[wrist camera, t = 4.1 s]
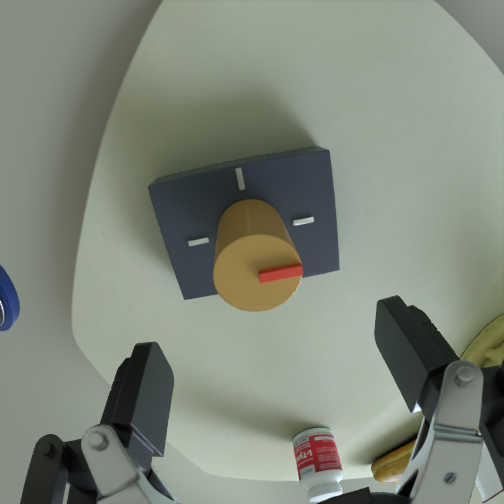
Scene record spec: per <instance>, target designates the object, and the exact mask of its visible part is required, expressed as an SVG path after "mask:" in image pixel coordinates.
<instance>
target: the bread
mask: <svg viewBox="0 0 504 504" xmlns="http://www.w3.org/2000/svg"><path fill="white" fill-rule="evenodd" d="M478 432H479V429H478ZM416 440H417V439H416ZM416 440H414V441H412V442H410V443H408V444H406V445H404V446H402V447H401V448H399V449H397V450H395V451H392V452H390V453H388V454H386V455H384V456H382V457H381V458H379V459H378V460H376V461H375V462H374V463H373V464H372V466H371V471H372V473H373V477H374V478H375V480H377V481H379V482H382V483H395V482H399V481H400V479H401V477H402V475H403V473H404V471H405V469H406V467H407V465H408V463H409V460H410V457H411V455H412V452H413V449H414V446H415V443H416Z"/></svg>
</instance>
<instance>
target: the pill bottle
mask: <svg viewBox="0 0 504 504" xmlns="http://www.w3.org/2000/svg"><path fill="white" fill-rule="evenodd" d="M293 446H294V452H295V458H296V463H297V469H298V475H299V481H300V485H301V486H302V487H303V488H304V489H308V492H307V495H308V500H309V501H311V502H315V501H316V502H317V501H324V500H326V499H329V498H331V497H334V496H338V495H341V494H342V488H341V486H340V484H338V482H339V481H340V480H341V479H342V477H343V470H342V466H341V463H340V459H339V455H338V451H337V448H336V444H335V440H334V436H333V433H332V431H331V430H329V429H327V428H312V429H308V430H305V431H303V432H301V433H299V434H298V435H297V436H296V437H295V438H294V439H293Z"/></svg>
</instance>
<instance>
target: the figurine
mask: <svg viewBox="0 0 504 504" xmlns="http://www.w3.org/2000/svg"><path fill="white" fill-rule="evenodd" d="M503 359H504V314H503V315H501V316H499V317H498V318H497V319H495V320H494V321H492V322H491V323H490V324H489V325H487V326H486V327H485V328H484V329H483V330H482V332H481V333H480V334H479V335H478V336H477V337H476V338H475V339H474V340H473V341H472V342H471V344H470V345H469V346H468V348H467V349H466V350H465V352H464V354H463V355H462V357H461V359H460V360H467V361H471V362H473V363H475V364H476V365H477V366H478V367H479V368H485V367H491V366H497V365H501V363H502V361H503Z"/></svg>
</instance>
